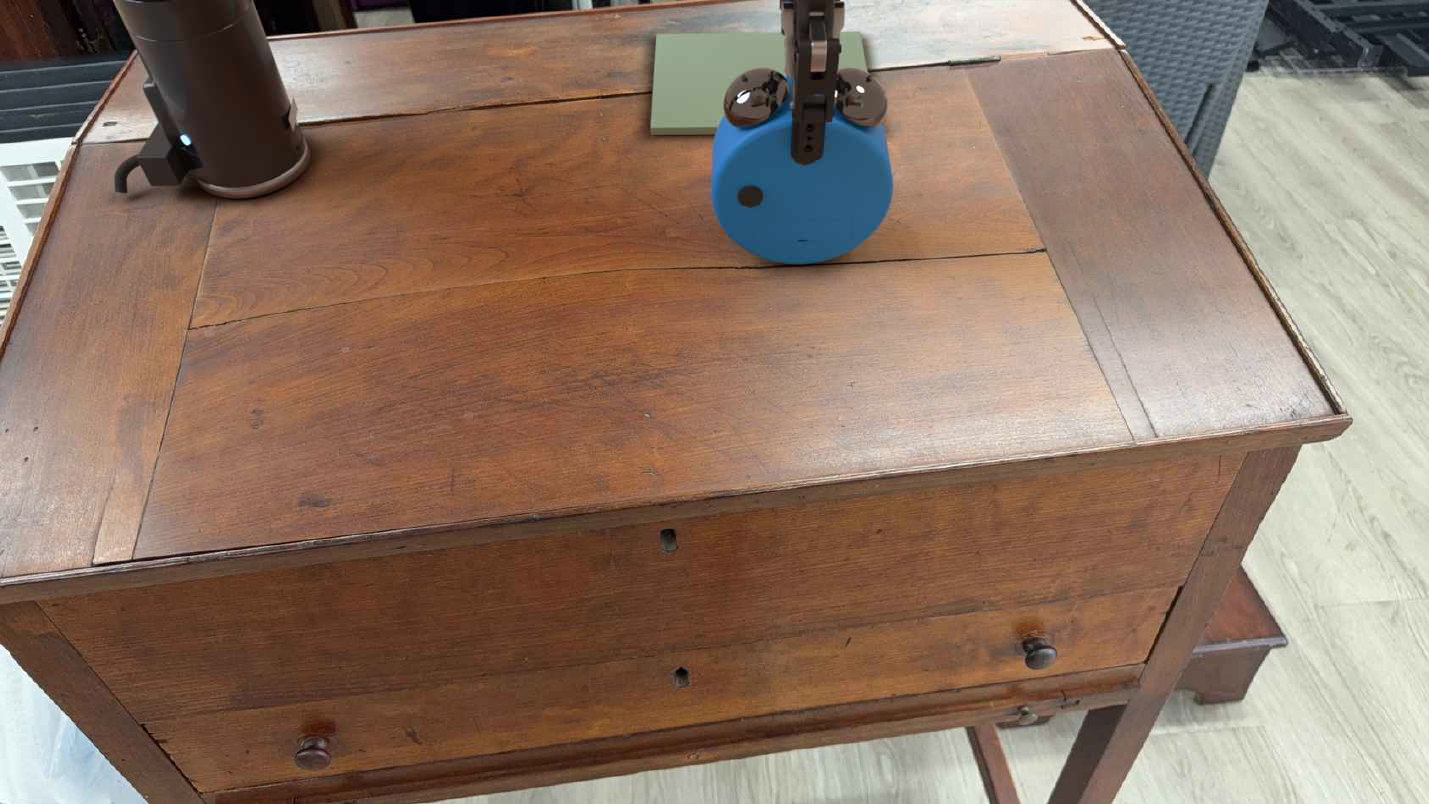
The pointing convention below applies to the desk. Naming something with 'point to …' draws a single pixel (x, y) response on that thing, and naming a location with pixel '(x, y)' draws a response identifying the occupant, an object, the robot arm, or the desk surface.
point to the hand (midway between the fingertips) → (803, 128)
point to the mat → (717, 74)
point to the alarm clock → (800, 170)
